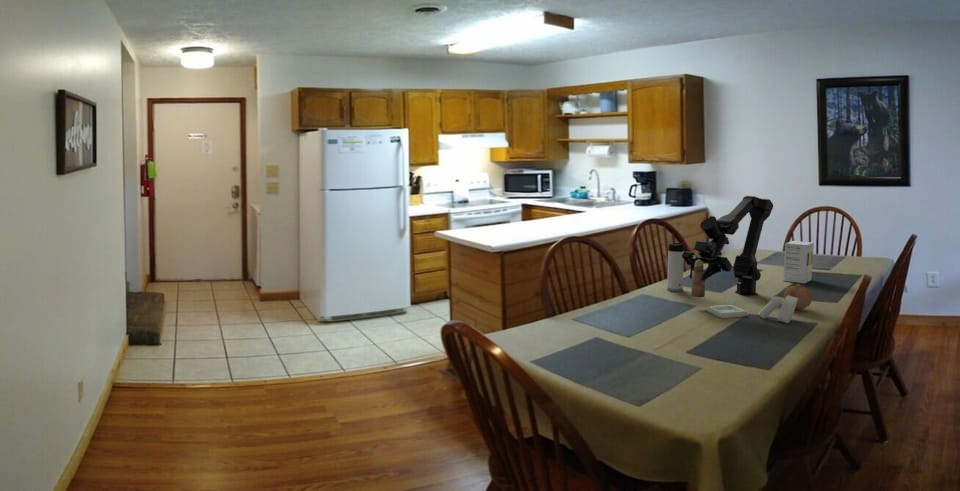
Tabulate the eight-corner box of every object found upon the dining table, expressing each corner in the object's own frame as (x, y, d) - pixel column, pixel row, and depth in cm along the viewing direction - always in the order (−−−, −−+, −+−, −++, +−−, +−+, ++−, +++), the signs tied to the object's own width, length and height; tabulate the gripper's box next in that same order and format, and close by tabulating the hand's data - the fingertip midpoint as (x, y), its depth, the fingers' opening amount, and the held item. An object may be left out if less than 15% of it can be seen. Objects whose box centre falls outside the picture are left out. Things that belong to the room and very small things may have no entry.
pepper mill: (700, 293, 260) (701, 258, 258) (707, 296, 256) (708, 260, 253) (688, 294, 259) (690, 259, 257) (695, 297, 255) (696, 261, 252)
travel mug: (684, 291, 283) (685, 244, 279) (667, 291, 284) (669, 243, 281) (682, 288, 289) (684, 241, 285) (666, 288, 290) (668, 241, 287)
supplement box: (804, 283, 294) (807, 245, 291) (782, 281, 300) (784, 243, 297) (811, 280, 301) (814, 242, 298) (789, 277, 307) (792, 240, 304)
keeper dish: (730, 309, 255) (730, 304, 254) (746, 316, 245) (746, 311, 245) (706, 311, 252) (706, 306, 252) (721, 318, 243) (721, 313, 242)
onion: (787, 305, 258) (788, 279, 256) (814, 309, 252) (815, 282, 251) (779, 311, 251) (781, 284, 249) (807, 315, 245) (808, 287, 243)
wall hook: (760, 313, 246) (768, 287, 243) (789, 323, 241) (798, 297, 238) (754, 318, 240) (763, 292, 237) (785, 329, 235) (794, 302, 232)
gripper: (685, 230, 263) (666, 262, 258) (728, 235, 249) (709, 269, 244) (696, 248, 269) (678, 279, 264) (740, 254, 255) (721, 288, 250)
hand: (696, 279), depth 255 cm, fingers closed on pepper mill, 5 cm apart
